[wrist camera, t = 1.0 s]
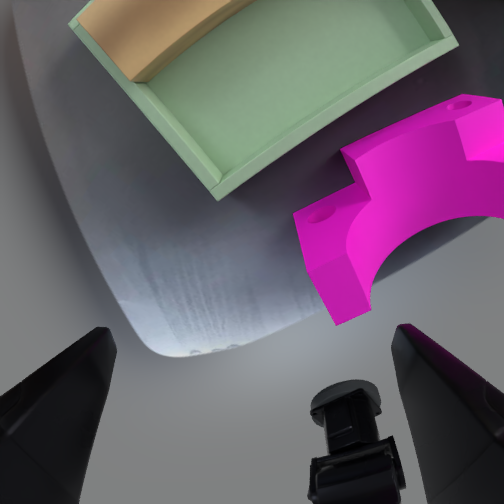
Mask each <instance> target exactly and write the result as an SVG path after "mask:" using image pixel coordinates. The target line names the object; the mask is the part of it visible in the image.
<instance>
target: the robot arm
mask: <svg viewBox="0 0 504 504" xmlns="http://www.w3.org/2000/svg"><path fill="white" fill-rule="evenodd" d="M391 350H392V356H393V361H394V366H395V370H396V376H397V382H398V387H399V392H400V395H401V399H402V402H403V406H404V409H405V413H406V416H407V420H408V424H409V427H410V431H411V435H412V438H413V442H414V446H415V450H416V454H417V458H418V462H419V467H420V471H421V475H422V480H423V484H424V489H425V494H426V498H427V503H428V504H504V393H502V392H501V391H500V390H498V389H497V388H496V387H494V386H493V385H492V384H490V383H489V382H488V381H487V382H486V380H485V379H484V378H482V377H481V376H480V375H479V374H477V373H476V372H475V371H473V370H472V369H470V368H469V367H468V366H467V365H465V364H464V363H463V362H462V361H460V360H459V359H457V358H456V357H455V356H454V355H452V354H451V353H450V352H448V351H447V350H445V349H444V348H443V347H441V346H440V345H439V344H438V343H436V342H435V341H433V340H432V339H431V338H429V337H428V336H426V335H425V334H424V333H422V332H421V331H420V330H418V329H417V328H416V327H414V326H413V325H411V324H400V325H398V326H397V328H396V331H395V335H394V338H393V341H392V345H391ZM116 353H117V348H116V344H115V342H114V339H113V336H112V334H111V331H110V329H109V328H107V327H96V328H95V329H93V330H92V331H90V332H89V333H87V334H86V335H85V336H83V337H82V338H80V339H79V340H78V341H76V342H75V343H73V344H72V345H71V346H69V347H68V348H66V349H65V350H64V351H62V352H61V353H59V354H58V355H57V356H55V357H54V358H52V359H51V360H50V361H48V362H47V363H46V364H44V365H43V366H41V367H40V368H39V369H37V370H36V371H35V372H33V373H32V374H30V375H29V376H28V377H26V378H25V379H24V380H22V382H20V383H18V384H17V385H16V386H14V387H13V388H11V389H10V390H9V391H7V392H6V393H4V394H3V395H2V396H0V504H79V501H80V500H79V499H80V495H81V491H82V486H83V482H84V478H85V474H86V470H87V466H88V462H89V458H90V454H91V450H92V447H93V443H94V439H95V436H96V432H97V429H98V425H99V422H100V418H101V415H102V412H103V408H104V405H105V402H106V399H107V395H108V391H109V387H110V382H111V377H112V372H113V367H114V362H115V358H116ZM381 413H382V411H381V409H380V407H379V406H378V405H377V404H376V403H375V402H374V400H373V399H372V398H371V397H370V396H369V395H368V394H367V392H366V391H365V390H364V389H363V388H358V389H356V390H354V391H352V392H350V393H348V394H346V395H343V396H341V397H339V398H337V399H335V400H333V401H330V402H328V403H326V404H323V405H321V406H319V407H316V408H314V409H312V410H311V411H310V415H311V416H312V417H313V418H315V419H316V420H317V421H318V422H320V423H321V424H322V425H324V431H325V438H326V446H327V453H328V456H323V457H319V458H317V457H316V458H312V461H311V465H310V485H309V490H308V495H307V496H308V499H309V500H310V501H312V502H313V504H401V496H400V492H399V490H403V489H406V483H405V478H404V473H403V469H402V466H401V461H400V458H399V455H398V451H397V448H396V444H395V441H394V438H393V436H390V437H388V438H387V439H383V440H380V437H379V433H378V429H377V425H376V421H375V416H378V415H380V414H381Z"/></svg>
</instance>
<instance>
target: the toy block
mask: <svg viewBox="0 0 504 504" xmlns="http://www.w3.org/2000/svg"><path fill="white" fill-rule="evenodd" d="M340 151H341V153H342V155H343V157H344V159H345V161H346V163H347V166H348V168H349V170H350V172H351V174H352V176H353V179H354V181H355V183H353V184H351V185H349V186H347V187H345V188H343V189H341V190H339V191H337V192H335V193H333V194H331V195H329V196H327V197H325V198H323V199H321V200H319V201H317V202H315V203H313V204H311V205H308V206H306V207H304V208H302V209H300V210H298V211H296V212H294V213H293V216H294V220H295V224H296V228H297V232H298V236H299V240H300V244H301V249H302V253H303V257H304V261H305V265H306V270H307V273H308V275H309V277H310V278H311V280H312V282H313V284H314V286H315V288H316V289H317V291H318V293H319V295H320V297H321V299H322V300H323V302H324V304H325V306H326V308H327V310H328V312H329V313H330V315H331V317H332V319H333V321H334V323H335V325H336V326H337V325H339V324H342V323H344V322H346V321H348V320H351V319H353V318H355V317H357V316H359V315H362V314H364V313H366V312H368V311H370V310H371V305H370V292H371V287H372V283H373V280H374V277H375V275H376V273H377V271H378V269H379V267H380V266H381V264H382V263H383V262H384V260H385V259H386V258H387V256H388V255H389V254H390V253H391V252H392V251H393V250H394V249H395V248H396V247H397V246H399V245H400V244H401V243H402V242H404V241H405V240H406V239H408V238H409V237H411V236H412V235H414V234H416V233H417V232H419V231H421V230H423V229H425V228H427V227H430V226H432V225H434V224H437V223H440V222H443V221H446V220H450V219H454V218H460V217H467V216H491V217H497V218H502V219H504V107H503V104H502V100H501V99H495V98H489V97H482V96H475V95H467V94H461V95H459V96H456V97H454V98H451V99H449V100H447V101H444V102H442V103H439V104H437V105H435V106H432V107H430V108H428V109H425V110H423V111H421V112H419V113H416V114H414V115H412V116H410V117H407V118H405V119H403V120H401V121H398V122H396V123H394V124H392V125H390V126H387V127H385V128H383V129H381V130H379V131H376V132H374V133H372V134H370V135H368V136H366V137H364V138H361V139H359V140H357V141H355V142H353V143H351V144H349V145H347V146H345V147H343V148H341V149H340Z"/></svg>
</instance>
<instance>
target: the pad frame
mask: <svg viewBox="0 0 504 504" xmlns="http://www.w3.org/2000/svg"><path fill="white" fill-rule="evenodd" d="M94 1H95V0H91V1H90V2H89V3H88V4H87V5H86V6H85V7H84V8H83V9H82V10H81V11H80V12H79V13H78V14H77V15H76V16H75V17H74V18H73V19H72V20H71V21H70V22H69V23H68V26H69V27H70V28H71V29H72V30H73V31H74V33H75V34H76V35H77V36H78V37H79V39H80V40H81V41H82V42H83V43H84V44H85V46H86V47H87V48H88V49H89V50H90V51H91V53H92V54H93V55H94V56H95V57H96V58H97V60H98V61H99V62H100V63H101V64H102V65H103V67H104V68H105V69H106V70H107V71H108V72H109V74H110V75H111V76H112V77H113V78H114V79H115V81H116V82H117V83H118V84H119V85H120V87H121V88H122V89H123V90H124V91H125V92H126V94H127V95H128V96H129V97H130V98H131V99H132V101H133V102H134V103H135V104H136V105H137V106H138V108H139V109H140V110H141V111H142V112H143V114H144V115H145V116H146V117H147V118H148V119H149V121H150V122H151V123H152V124H153V125H154V127H155V128H156V129H157V130H158V131H159V132H160V134H161V135H162V136H163V137H164V138H165V140H166V141H167V142H168V143H169V144H170V145H171V147H172V148H173V149H174V150H175V151H176V153H177V154H178V155H179V156H180V157H181V158H182V160H183V161H184V162H185V163H186V164H187V166H188V167H189V168H190V169H191V170H192V172H193V173H194V174H195V175H196V176H197V177H198V179H199V180H200V181H201V182H202V183H203V185H204V186H205V187H206V188H207V189H208V190H209V191H210V193H211V194H212V195H213V197H214V198H215V199H216V200H217V201H219V200H221V199H222V198H223V197H225V196H226V195H228V194H229V193H230V192H232V191H233V190H234V189H236V188H237V187H238V186H240V185H241V184H243V183H244V182H245V181H247V180H248V179H250V178H251V177H252V176H254V175H255V174H256V173H258V172H259V171H261V170H262V169H264V168H265V167H266V166H268V165H269V164H271V163H272V162H273V161H275V160H276V159H278V158H279V157H281V156H282V155H284V154H285V153H286V152H288V151H289V150H291V149H292V148H294V147H295V146H297V145H298V144H300V143H301V142H302V141H304V140H305V139H307V138H308V137H310V136H311V135H313V134H314V133H316V132H317V131H319V130H320V129H322V128H323V127H325V126H326V125H328V124H329V123H331V122H333V121H334V120H336V119H337V118H339V117H340V116H342V115H343V114H345V113H346V112H348V111H350V110H351V109H353V108H354V107H356V106H357V105H359V104H361V103H362V102H364V101H365V100H367V99H369V98H370V97H372V96H373V95H375V94H377V93H378V92H380V91H381V90H383V89H385V88H386V87H388V86H390V85H391V84H393V83H395V82H396V81H398V80H400V79H401V78H403V77H405V76H406V75H408V74H410V73H411V72H413V71H415V70H417V69H418V68H420V67H422V66H424V65H425V64H427V63H429V62H431V61H432V60H434V59H436V58H438V57H439V56H441V55H443V54H445V53H447V52H448V51H450V50H452V49H454V48H456V47H458V46H459V44H458V42H457V40H456V39H455V37H454V35H452V34H453V33H452V32H451V30H450V28H449V27H448V25H447V23H446V22H445V20H444V19H443V17H442V15H441V14H440V12H439V11H438V9H437V8H436V6H435V5H434V3H433V2H432V0H257V1H255V2H253V3H252V4H250V5H249V6H247V7H245V8H244V9H242V10H241V11H239V12H238V13H236V14H235V15H233V16H232V17H230V18H229V19H227V20H226V21H224V22H223V23H222V24H220V25H219V26H217V27H216V28H215V29H213V30H212V31H210V32H209V33H208V34H206V35H205V36H204V37H202V38H201V39H200V40H198V41H197V42H196V43H194V44H193V45H192V46H191V47H189V48H188V49H187V50H185V51H184V52H183V53H182V54H180V55H179V56H178V57H177V58H176V59H174V60H173V61H172V62H171V63H170V64H168V65H167V66H166V67H165V68H164V69H163V70H161V71H160V72H159V73H158V74H157V75H156V76H154V77H153V78H152V79H151V80H150V81H149V82H132V81H129V80H128V79H127V77H126V76H125V75H124V74H123V73H122V72H121V70H120V69H119V68H118V67H117V66H116V65H115V63H114V62H113V61H112V60H111V59H110V58H109V57H108V55H107V54H106V53H105V52H104V51H103V50H102V48H101V47H100V46H99V45H98V44H97V43H96V42H95V40H94V39H93V38H92V37H91V36H90V35H89V34H88V32H87V31H86V30H85V29H84V28H83V27H82V26H81V24H80V23H79V22H78V21H77V20H76V19H77V18H78V17H79V16H80V15H81V14H82V13H83V12H84V11H85V9H86V8H87V7H88V6H89V5H91V4H92V3H93V2H94Z"/></svg>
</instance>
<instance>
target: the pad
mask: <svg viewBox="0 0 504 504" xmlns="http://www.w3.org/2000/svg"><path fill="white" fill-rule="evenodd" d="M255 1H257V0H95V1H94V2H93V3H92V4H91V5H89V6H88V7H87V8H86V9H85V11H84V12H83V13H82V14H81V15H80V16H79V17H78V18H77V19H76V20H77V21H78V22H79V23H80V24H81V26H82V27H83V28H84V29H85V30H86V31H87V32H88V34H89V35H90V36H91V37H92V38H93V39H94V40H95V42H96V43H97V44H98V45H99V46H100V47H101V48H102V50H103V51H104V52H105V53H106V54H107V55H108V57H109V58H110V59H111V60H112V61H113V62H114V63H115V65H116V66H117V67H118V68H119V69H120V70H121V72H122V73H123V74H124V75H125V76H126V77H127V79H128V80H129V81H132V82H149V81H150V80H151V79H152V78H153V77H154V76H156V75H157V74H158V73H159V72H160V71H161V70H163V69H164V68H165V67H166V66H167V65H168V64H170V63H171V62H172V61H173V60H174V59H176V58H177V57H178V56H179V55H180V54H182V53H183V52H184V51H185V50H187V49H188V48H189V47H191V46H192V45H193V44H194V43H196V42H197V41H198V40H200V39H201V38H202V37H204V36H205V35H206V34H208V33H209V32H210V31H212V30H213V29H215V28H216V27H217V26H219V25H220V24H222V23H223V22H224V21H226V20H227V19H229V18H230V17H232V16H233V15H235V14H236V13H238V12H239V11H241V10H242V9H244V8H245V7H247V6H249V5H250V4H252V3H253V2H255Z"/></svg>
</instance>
